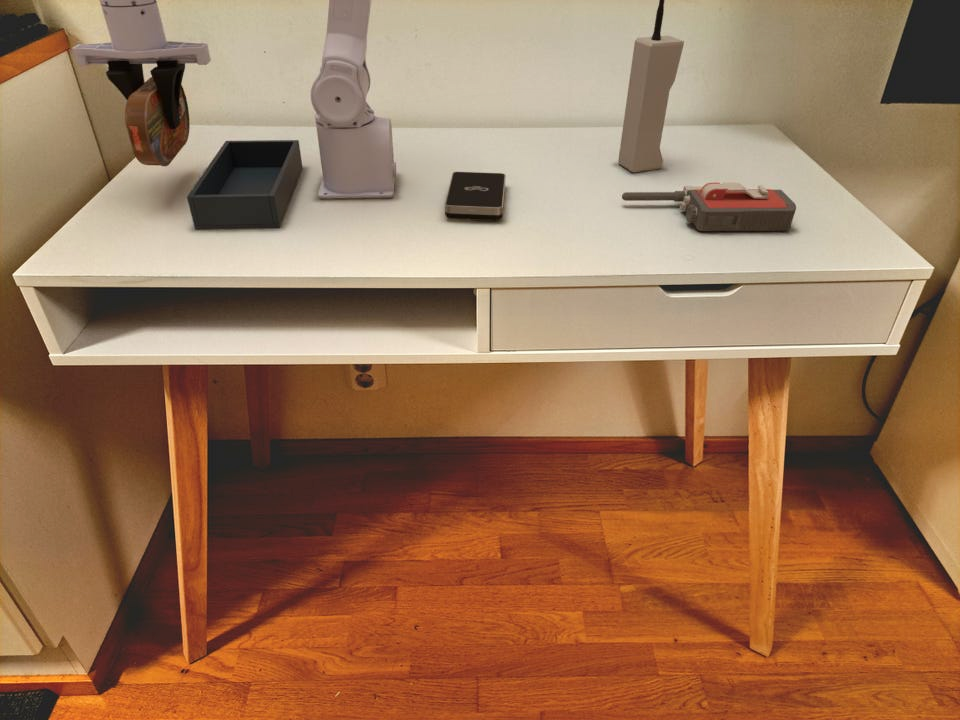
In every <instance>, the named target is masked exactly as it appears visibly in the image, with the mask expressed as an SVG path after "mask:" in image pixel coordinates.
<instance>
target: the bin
mask: <svg viewBox="0 0 960 720" xmlns="http://www.w3.org/2000/svg"><path fill="white" fill-rule="evenodd" d="M301 154H302V153H301V146H300V140H299V139H279V140H277V139H276V140H275V139H273V140H267V139H266V140H265V139H263V140H260V139H259V140H258V139H257V140H225V141H224V143H223V144H222V146H221V147H220V149H219V150H218V151H217V152H216V154H215V156H214V157H213V159H212V160H211V161H210V163H209V164H208V165H207V167H206V169H205V170H204V171H203V173H202V175H201V176H200V177H199V179H198V180H197V182H196V183H195V184H194V185H193V187H192V188H191V190H190V191H189V193H188V194H187V196H186V200H187V204H188V207H189V211H190V216H191V219H192V223H193V227H194V229H195V230H231V229H236V230H237V229H280V228H281V225H282V223H283V221H284V218H285V216H286V212H287V210H288V207H289V206H290V204H291V203H290V202H291V200H292V198H293V194H294V193H295V189H296V188H297V185H298V182H299V179H300V177H301V174H302V171H303V170H304V168H303V167H304V166H303V160H302V155H301Z"/></svg>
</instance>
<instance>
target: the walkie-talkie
mask: <svg viewBox="0 0 960 720" xmlns="http://www.w3.org/2000/svg"><path fill="white" fill-rule="evenodd" d="M621 199H622V200H623V201H626V202H627V201H629V202H630V201H632V202H633V201H636V202H638V201H640V202H641V201H642V202H643V201H644V202H645V201H648V202H649V201H652V202H653V201H654V202H655V201H658V202H659V201H673V202H677V203H679V202H680V204H679V209H680V210H683V211H684V212H685V214H686V215H685V216H686V221H687V223H689V224H690V223H692V224H693V226H694V228H695V229H696V230H697V231H699V232H778V231H779V232H784V231H788V230H790V229H791V226H792V223H793V220H794V217H795V213H796V210H797V205H796V203H795V202H794V201H793V200H792V199H791V198H790V196H788V195H787V194H786V193H785V191H783V190H782V189H771V188H767V189H766V188H765V187H764V186H763V185H762V184H760V185H757V188H753V189H749V188H748V189H747V188H746V187H745V186H744V185H742V184H741V183H740V182H722V183H720V182H707V183H705V184H704V185H702V186H692V185H684V186H683V190H675V191H639V192H638V191H636V192H635V191H633V192H631V191H630V192H629V191H625V192H623V193H622V194H621Z"/></svg>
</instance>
